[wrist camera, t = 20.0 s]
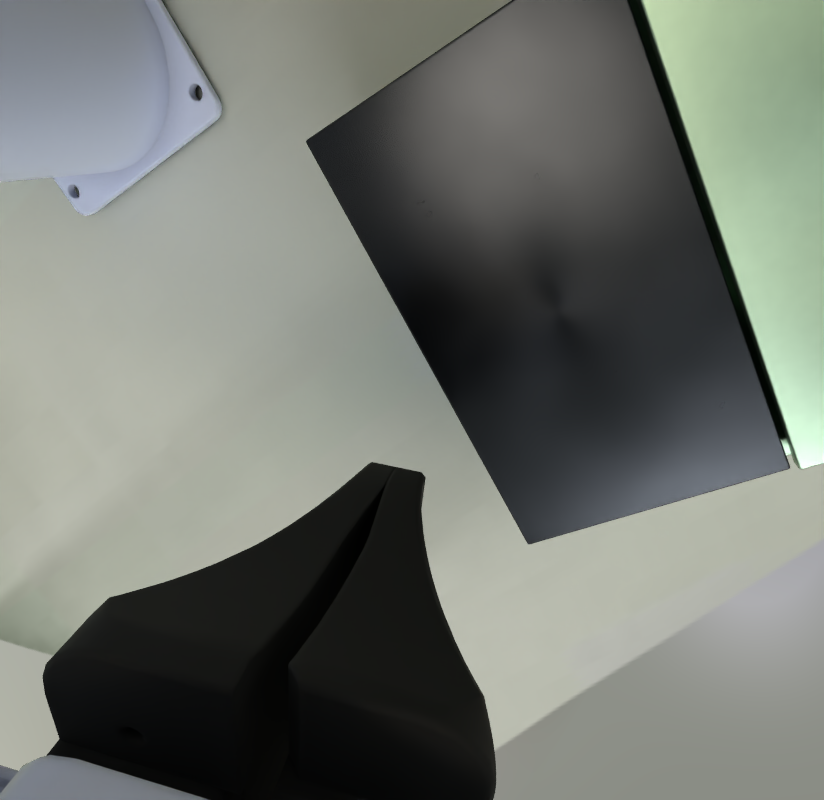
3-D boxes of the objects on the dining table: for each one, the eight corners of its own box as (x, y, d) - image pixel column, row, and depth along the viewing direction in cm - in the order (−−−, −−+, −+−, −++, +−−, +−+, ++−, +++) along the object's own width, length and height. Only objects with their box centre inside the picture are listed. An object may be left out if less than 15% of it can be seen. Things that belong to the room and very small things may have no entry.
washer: (530, 439, 23) (526, 547, 17) (376, 138, 19) (301, 140, 13) (975, 281, 17) (1204, 361, 11) (882, -192, 14) (1155, -450, 8)
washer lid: (527, 536, 17) (528, 545, 17) (310, 141, 14) (304, 140, 13) (784, 460, 15) (791, 468, 14) (604, -59, 11) (606, -66, 11)
